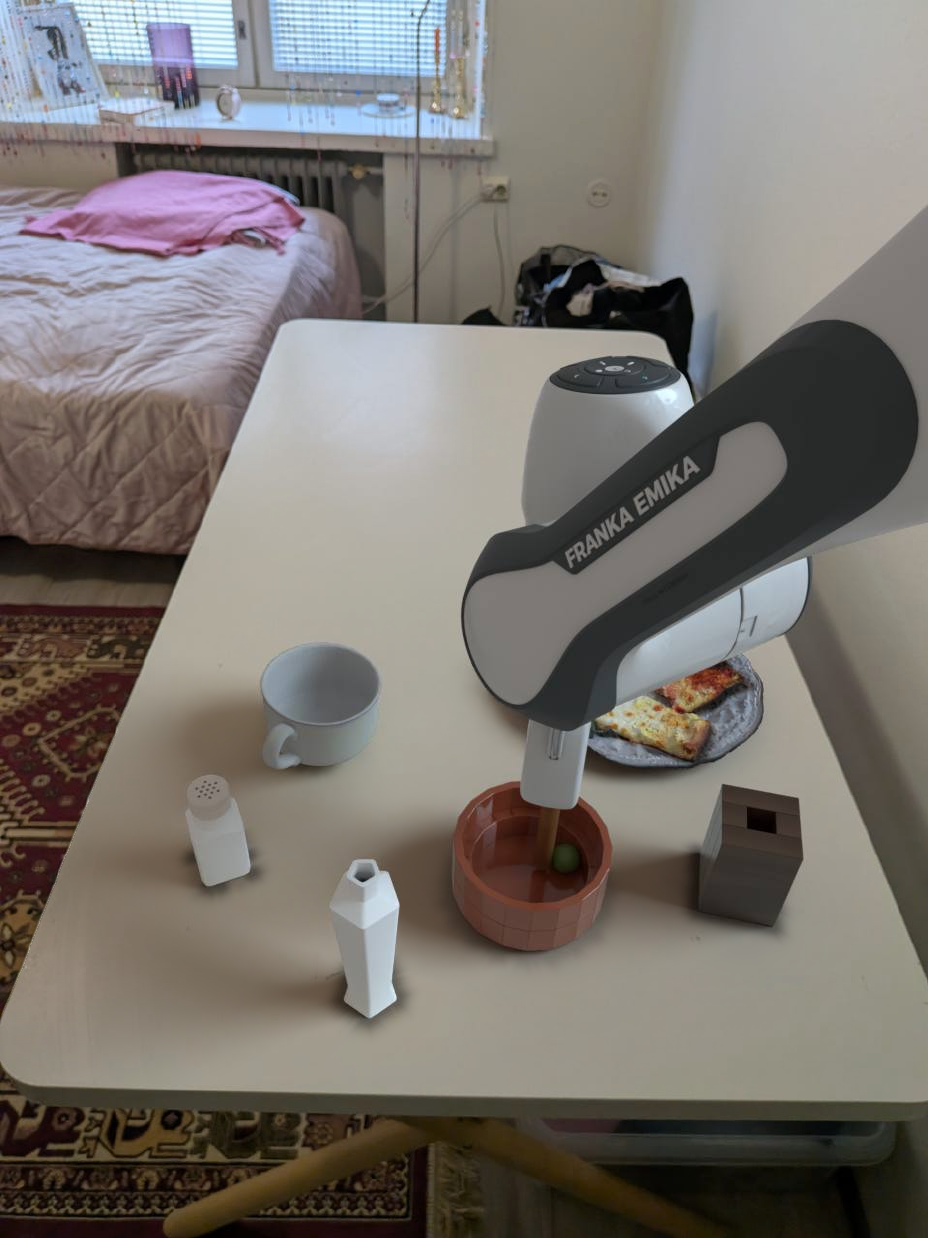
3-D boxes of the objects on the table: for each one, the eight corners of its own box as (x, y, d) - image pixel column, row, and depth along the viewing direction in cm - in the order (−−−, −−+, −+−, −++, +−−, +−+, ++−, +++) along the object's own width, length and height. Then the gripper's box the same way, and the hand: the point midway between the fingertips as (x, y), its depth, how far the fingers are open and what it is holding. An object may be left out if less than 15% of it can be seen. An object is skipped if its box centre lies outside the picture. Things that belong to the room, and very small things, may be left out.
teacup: (322, 685, 94) (317, 625, 89) (405, 733, 89) (405, 672, 84) (219, 767, 85) (206, 706, 80) (305, 825, 81) (298, 763, 75)
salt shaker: (194, 853, 78) (176, 778, 72) (241, 838, 79) (227, 764, 73) (204, 891, 75) (186, 817, 69) (253, 875, 76) (239, 800, 70)
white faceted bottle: (331, 974, 70) (318, 853, 60) (387, 957, 71) (383, 836, 62) (346, 1030, 67) (335, 912, 57) (405, 1011, 68) (403, 892, 58)
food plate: (799, 692, 96) (808, 667, 94) (679, 823, 82) (686, 797, 80) (602, 588, 108) (606, 564, 106) (469, 687, 95) (471, 661, 92)
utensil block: (773, 927, 74) (803, 859, 69) (698, 911, 75) (721, 843, 70) (771, 866, 79) (799, 797, 73) (700, 852, 80) (722, 783, 74)
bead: (553, 876, 75) (572, 882, 77) (571, 856, 75) (590, 862, 76) (540, 855, 77) (559, 860, 79) (558, 835, 76) (577, 841, 78)
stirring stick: (553, 876, 76) (579, 721, 64) (526, 870, 76) (548, 715, 65) (557, 854, 77) (583, 699, 66) (531, 849, 78) (552, 694, 66)
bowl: (593, 970, 71) (603, 926, 67) (436, 935, 73) (437, 891, 69) (609, 841, 80) (618, 796, 77) (469, 813, 82) (472, 768, 78)
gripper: (616, 723, 51) (586, 874, 60) (641, 525, 66) (615, 667, 75) (503, 703, 52) (491, 855, 61) (554, 512, 67) (538, 654, 76)
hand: (560, 749), depth 68 cm, fingers closed on stirring stick, 2 cm apart
